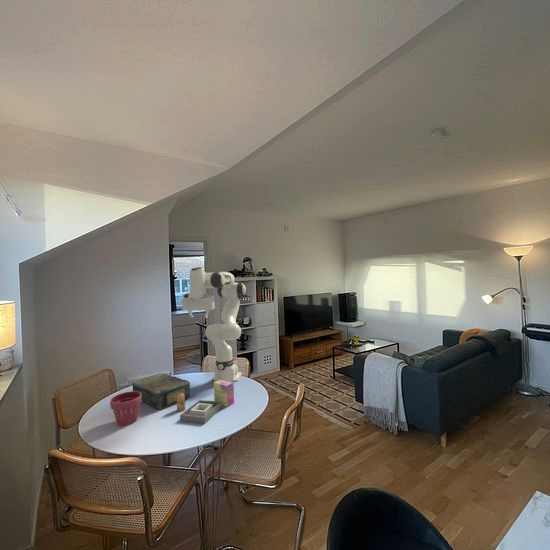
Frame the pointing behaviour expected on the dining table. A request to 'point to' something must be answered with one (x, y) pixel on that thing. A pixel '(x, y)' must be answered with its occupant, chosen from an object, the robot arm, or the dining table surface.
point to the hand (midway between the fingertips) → (198, 317)
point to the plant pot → (126, 407)
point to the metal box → (161, 390)
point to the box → (224, 392)
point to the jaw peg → (180, 402)
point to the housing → (201, 411)
